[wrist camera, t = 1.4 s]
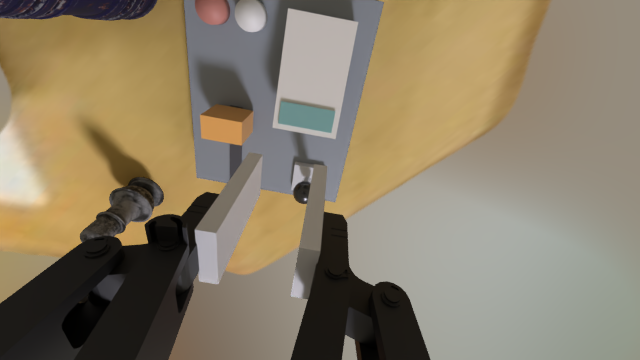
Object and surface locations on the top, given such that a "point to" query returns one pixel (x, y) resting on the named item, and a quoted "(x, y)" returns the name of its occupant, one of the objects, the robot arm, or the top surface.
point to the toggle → (302, 190)
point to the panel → (267, 86)
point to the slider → (226, 124)
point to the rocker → (313, 73)
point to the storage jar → (76, 9)
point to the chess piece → (125, 208)
